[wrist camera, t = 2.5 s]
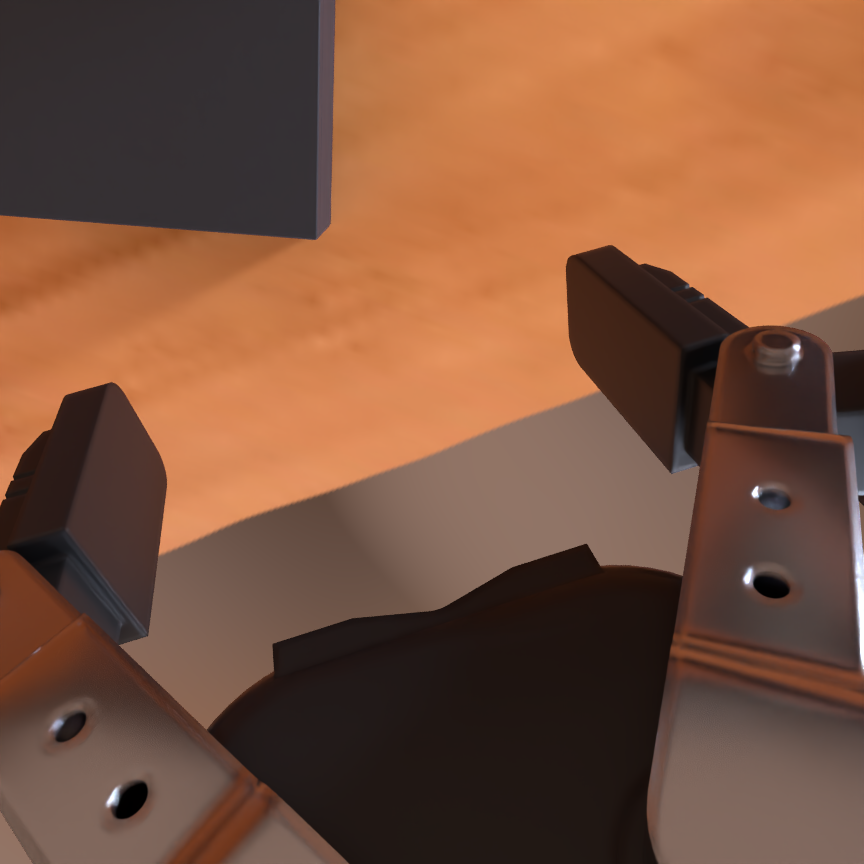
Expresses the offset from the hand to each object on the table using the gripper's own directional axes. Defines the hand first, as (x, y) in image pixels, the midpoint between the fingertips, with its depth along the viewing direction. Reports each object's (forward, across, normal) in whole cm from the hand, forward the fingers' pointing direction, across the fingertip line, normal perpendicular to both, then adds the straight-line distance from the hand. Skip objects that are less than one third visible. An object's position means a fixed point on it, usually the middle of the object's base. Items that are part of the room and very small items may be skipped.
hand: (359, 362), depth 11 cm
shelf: (+27, +4, -2) cm, 27 cm away
